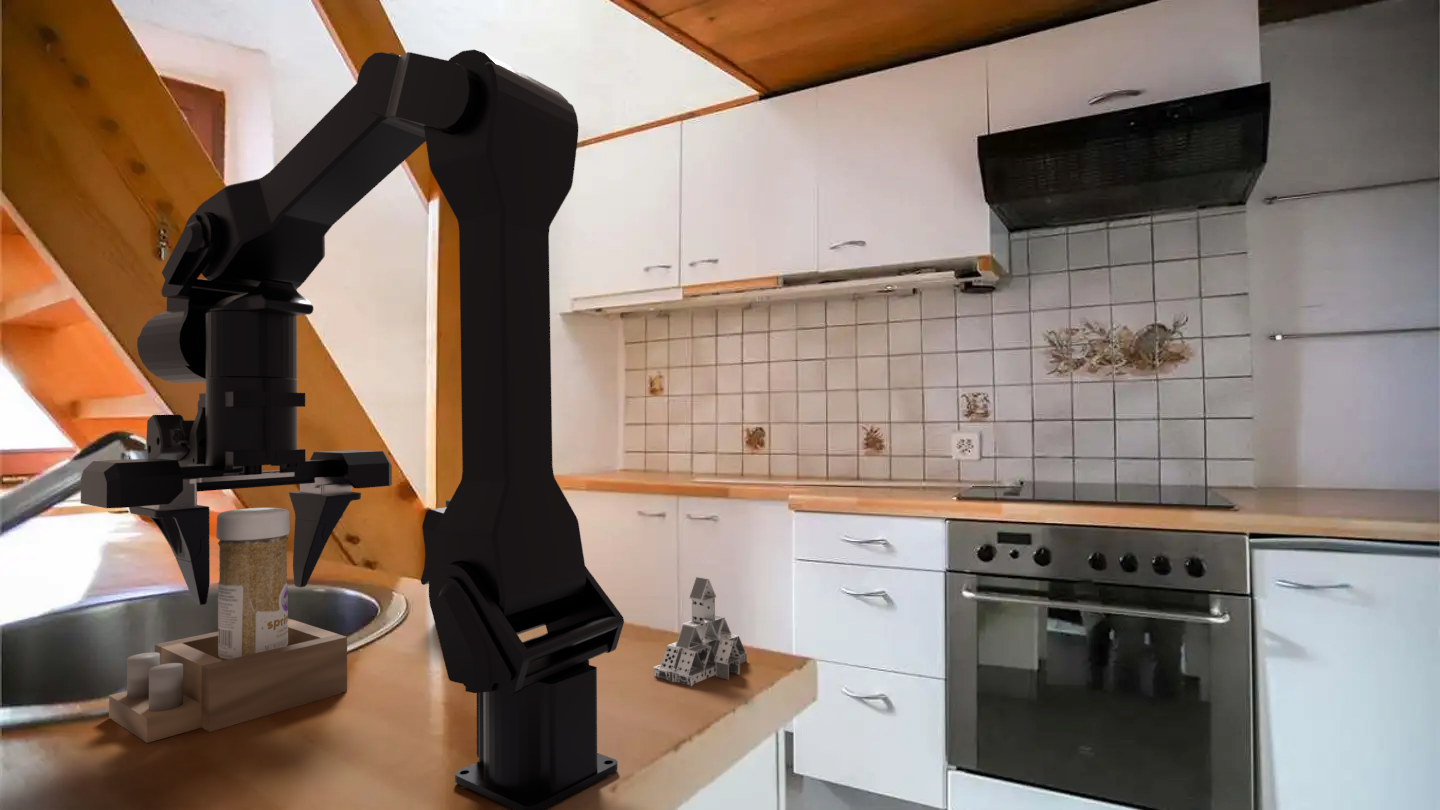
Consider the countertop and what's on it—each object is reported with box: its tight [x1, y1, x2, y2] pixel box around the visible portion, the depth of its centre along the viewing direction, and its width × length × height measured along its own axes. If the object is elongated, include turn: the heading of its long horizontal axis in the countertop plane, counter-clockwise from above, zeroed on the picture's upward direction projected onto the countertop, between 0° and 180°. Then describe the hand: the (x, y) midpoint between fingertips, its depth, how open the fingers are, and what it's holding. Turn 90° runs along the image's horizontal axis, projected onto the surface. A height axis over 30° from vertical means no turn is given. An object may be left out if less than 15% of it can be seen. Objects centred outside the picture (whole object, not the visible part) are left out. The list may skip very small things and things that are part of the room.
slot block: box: [108, 617, 348, 744], centre depth 56 cm, size 10×12×4 cm
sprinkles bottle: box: [215, 507, 291, 661], centre depth 57 cm, size 5×5×14 cm
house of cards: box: [653, 577, 748, 687], centre depth 59 cm, size 9×9×8 cm
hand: (252, 595), depth 57 cm, fingers open, 6 cm apart
